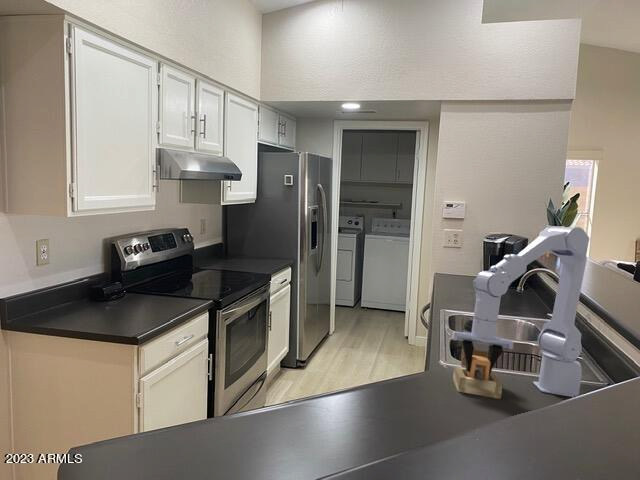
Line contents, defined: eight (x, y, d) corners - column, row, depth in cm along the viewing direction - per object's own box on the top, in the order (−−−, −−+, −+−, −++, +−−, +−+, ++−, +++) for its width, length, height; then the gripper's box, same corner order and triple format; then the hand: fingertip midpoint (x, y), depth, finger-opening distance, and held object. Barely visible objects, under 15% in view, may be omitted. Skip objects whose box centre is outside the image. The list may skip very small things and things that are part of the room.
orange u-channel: (483, 376, 121) (486, 357, 121) (487, 382, 117) (490, 362, 116) (467, 373, 122) (469, 354, 122) (470, 379, 117) (473, 359, 117)
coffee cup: (453, 370, 134) (460, 318, 133) (482, 374, 134) (489, 322, 133) (461, 380, 125) (469, 324, 125) (493, 384, 125) (500, 328, 125)
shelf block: (491, 386, 124) (494, 368, 124) (500, 398, 114) (503, 379, 114) (452, 379, 125) (455, 361, 125) (458, 391, 115) (460, 372, 115)
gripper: (458, 317, 116) (450, 371, 116) (519, 326, 114) (511, 382, 114) (454, 312, 123) (447, 364, 123) (512, 321, 121) (504, 373, 121)
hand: (477, 372), depth 119 cm, fingers closed on orange u-channel, 4 cm apart
